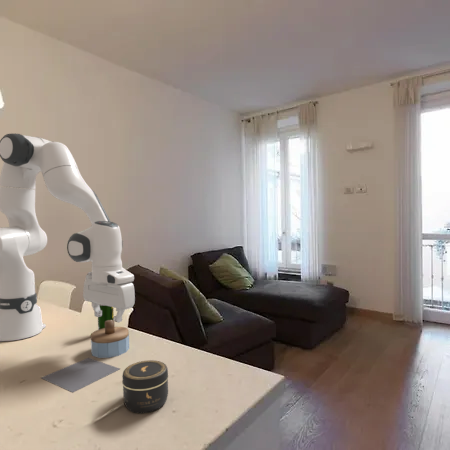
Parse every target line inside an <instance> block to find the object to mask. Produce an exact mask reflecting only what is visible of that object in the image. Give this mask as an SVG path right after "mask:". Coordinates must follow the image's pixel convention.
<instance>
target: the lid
mask: <svg viewBox="0 0 450 450" xmlns="http://www.w3.org/2000/svg"><path fill="white" fill-rule="evenodd" d="M128 335H129V336H130V334H129V328H127V327H124V326H116V325H115V321H114V320H107V321H105V328H103V329H99V330H98V329H97V330H95V331H93V332H92V333H91V334H90V342H91V341H92V342H95V343H112V342H117V341H120V340H123V339H125V338H126V337H128Z"/></svg>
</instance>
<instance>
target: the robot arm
mask: <svg viewBox="0 0 450 450" xmlns="http://www.w3.org/2000/svg"><path fill="white" fill-rule="evenodd" d="M0 159H1V161H2V162H3V164H2V167H1V170H0V171H1V172H0V212H1V213H2V214H4V216H6V218H7V221H8V226H5V227H1V226H0V342H10V341H17V340H23V339H27V338H31V337H34V336H37V335H38V334H40V333H41V332H42V331H43V329H45V328H46V327H47V326H46V325H47V324H46V323H43V317H42V310H41V307H40V306H39V305H38V304H37V303H38V296H37V292H36V284H35V283H36V279H35V277H36V276H35V272H34V271H33V270H32V269H31V268H29V267H28V266H27V264H26V262H25V259H24V257H25V256H32V255H34V254H36V253H37V254H38V253H39V252H42V250H44V249H45V248H46V246H47V244H48V236H47V233H46V231H45V230H44V229H42V228H41V226H40V223H39V221H38V217H37V214H36V185H37V184H36V181H37V176H38V174H39V173H41V174H42V178H43V181H44V185H45V186H46V189H47V191H48V192H49V193H50V195H51V196H53V197H54V198H56V199H57V200H59V201H61V202H64V203H68V204H70V205H72V206H75V207H77V208H78V209H81V210H82V211H83V212H84V213H85V214H86V216H87V217H88V219H89V221H90V223H91V226H89V227H88V228H86V229H84V230H82V231H79V232H75V233H73V234H71V235H70V237H68V241H67V244H66V250H67V254H68V256H69V257H70V259H71V260H72V261H74V262H76V263H87V262H91V271H88V273H87V274H86V275H85V280H84V283H83V290H82V291H83V293H82V297H83V299H84V301H85V302H89V303H91V307H92V309H93V311H94V317H95V318H98V317H101V316H102V310H100V306H99V304H101V305H106V306H110V307H113V308H114V309H115V311H116V314H115V315H114V323H121V322H122V321H123V315H124V313H125V310H129V309H131V308H133V307H134V305H135V301H136V297H135V295H136V293H135V286H134V285H135V284H134V283H133V282H134V280H135V275H134V274H133V273H131V272H130V271H128V270H127V269H125V268H124V267H123V261H122V252H123V248H124V245H123V244H124V243H123V242H124V241H123V238H122V231H121V227H120V226H119V224H117V223H116V222H113V221H111V219H110V218H109V215H108V213H107V212H106V210H105V208H104V206H103V204H102V202H101V199H99V197H98V195H97V194H96V192H95V190H93V189H92V188H91V187H90V186H89V185H88V183H86V181H85V179H84V178H83V176H82V173H81V172H80V170H79V166H78V164H77V163H76V160H75V158H74V156H73V154H72V152H71V151H70V149H69V148H68V146H67V145H65V143H63V142H60V141H51V140H50V139H49V140H48V139H46V138H42V137H39V136H30V135H24V134H22V133H12V132H11V133H6V134H5V135H4V136H2V137H1V139H0Z"/></svg>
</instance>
